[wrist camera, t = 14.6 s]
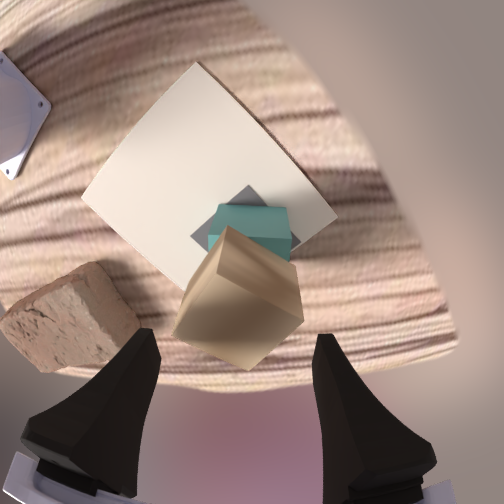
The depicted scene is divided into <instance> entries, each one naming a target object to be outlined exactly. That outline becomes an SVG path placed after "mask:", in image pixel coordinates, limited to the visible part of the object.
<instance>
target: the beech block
mask: <svg viewBox="0 0 504 504" xmlns="http://www.w3.org/2000/svg"><path fill="white" fill-rule="evenodd" d="M303 322H304V316H303V309H302V303H301V296H300V290H299V284H298V277H297V271H296V266H295V265H293V264H291V263H290V262H288V261H286V260H285V259H283V258H281V257H280V256H278V255H277V254H275V253H273V252H272V251H270V250H268V249H267V248H265V247H263V246H262V245H260V244H258V243H257V242H255V241H253V240H252V239H250V238H249V237H247V236H245V235H244V234H242V233H240V232H239V231H237V230H235V229H234V228H232V227H230V226H229V225H227V226H226V228H225V229H224V231H223V232H222V233H221V235H220V236H219V238H218V239H217V241H216V242H215V244H214V245H213V246H212V248H211V249H210V251H209V252H208V254H207V255H206V257H205V258H204V260H203V261H202V263H201V264H200V265H199V267H198V268H197V270H196V271H195V273H194V274H193V276H192V277H191V279H190V280H189V282H188V285H187V288H186V291H185V294H184V297H183V300H182V303H181V306H180V309H179V312H178V315H177V318H176V321H175V324H174V327H173V331H172V334H171V336H173V337H175V338H177V339H179V340H181V341H183V342H185V343H187V344H189V345H191V346H193V347H195V348H198V349H200V350H202V351H204V352H206V353H208V354H210V355H213V356H215V357H217V358H219V359H222V360H224V361H226V362H228V363H231V364H233V365H235V366H238V367H240V368H242V369H245V370H247V371H249V370H250V369H252V368H253V367H254V366H255V365H256V364H257V363H259V362H260V361H261V360H262V359H263V358H264V357H265V356H267V355H268V354H269V353H270V352H271V351H272V350H273V349H274V348H276V347H277V346H278V345H279V344H280V343H281V342H282V341H283V340H284V339H285V338H287V337H288V336H289V335H290V334H291V333H292V332H293V331H294V330H295V329H296V328H297V327H298V326H299V325H301V324H302V323H303Z"/></svg>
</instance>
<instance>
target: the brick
mask: <svg viewBox="0 0 504 504" xmlns="http://www.w3.org/2000/svg"><path fill="white" fill-rule="evenodd" d="M139 328H141V323H140V321H139V319H138V318H137V316H136V314H135V312H134V311H133V310H132V309H131V308H130V307H129V306H128V305H127V303H126V302H124V300H123V298H122V297H121V295H120V294H119V293H118V291H117V290H116V288H115V286H114V285H113V283H112V281H111V279H110V277H109V276H108V275H107V273H106V272H105V271H104V270H103V268H102V267H101V266H100V265H99V264H98V263H96V262H88V263H86V264H85V265H81V266H79V267H78V268H76V269H75V270H73V271H72V272H70V273H69V274H68V275H67V276H65V277H61V278H58V279H56V280H55V281H54V282H53V283H51V284H47V285H46V286H44V287H42V288H40V289H39V290H37V291H35V292H33V293H31V294H30V295H28V296H27V297H25V298H24V299H22V300H21V301H18V302H17V303H15V304H14V305H13V306H12V307H11V308H10V309H9V310H8V311H7V312H6V313H5V314H4V315H3V316H2V317H1V318H0V329H1V331H2V332H3V334H4V335H5V336H6V338H7V339H8V340H9V341H10V342H11V343H12V344H13V345H14V347H16V348H17V349H18V350H19V352H20V353H21V354H22V355H24V356H25V357H26V358H27V359H28V360H29V361H30V362H31V363H33V364H34V365H35V366H36V367H37V368H38V369H39V370H40V372H46V373H49V372H53V371H56V370H59V369H61V368H65V367H67V366H78V365H86V364H93V363H101V362H105V361H106V360H109V361H110V360H111V359H112V358H113V357H114V356H115V355H116V354H117V353H118V352H119V351H120V349H121V348H122V347H123V346H124V345H125V344H126V343H127V341H128V340H129V339H130V338H131V337H132V336H133V335H134V333H135V332H136V331H137V330H138V329H139Z"/></svg>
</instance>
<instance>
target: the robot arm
mask: <svg viewBox="0 0 504 504" xmlns="http://www.w3.org/2000/svg"><path fill="white" fill-rule="evenodd" d="M2 61H3V63H2ZM41 103H43V106H41ZM50 110H51V104H50V102H49V101H48V100H47V99H46V98H45V97H44V96H43V95H42V94H41V93H40V92H39V91H38V90H37V88H36V87H35V86H34V85H33V84H32V83H31V82H30V81H29V80H28V79H27V78H26V77H25V76H24V75H23V74H22V72H21V71H20V70H19V69H18V68H17V67H16V66H15V65H14V64H13V63H12V62H11V60H10V59H9V58H8V57H7V56H6V55H5V54H4V53H3V52H2V51H0V169H1V170H2V171H3V172H4V173H5V174H6V176H7V177H8V178H9V179H10V180H14V179H15V178H16V177H17V175H18V172H19V170H20V168H21V166H22V163H23V161H24V159H25V157H26V155H27V153H28V151H29V149H30V147H31V145H32V143H33V141H34V139H35V137H36V135H37V133H38V132H39V130H40V128H41V126H42V124H43V123H44V121H45V119H46V117H47V116H48V114H49V112H50ZM9 171H10V172H9ZM160 364H161V356H160V353H159V349H158V346H157V343H156V340H155V337H154V333H153V330H152V329H148V328H139V329H138V330H137V331H136V332H135V333H134V335H133V336H132V337H131V338H130V339H129V340H128V341H127V343H126V344H125V345H124V346H123V347H122V348H121V349H120V351H119V352H118V353H117V354H116V355H115V356H114V357H113V358H112V359H111V360H110V361H109V362H108V364H107V365H106V366H105V367H103V368H102V369H101V370H100V371H99V372H98V373H97V374H96V375H95V376H94V377H93V378H92V379H91V380H90V381H89V382H88V383H86V384H85V385H84V386H83V387H81V388H80V389H79V390H78V391H76V392H75V393H73V394H72V395H71V396H69V397H68V398H66V399H65V400H63V401H62V402H60V403H58V404H57V405H55V406H53V407H51V408H50V409H48V410H46V411H44V412H42V413H39V414H37V415H35V416H33V417H31V418H29V420H28V422H27V424H26V426H25V429H24V431H23V433H22V436H21V438H20V440H21V442H22V443H23V444H24V445H25V446H26V447H27V448H28V449H29V450H30V451H32V452H33V453H34V454H35V455H37V456H38V457H39V458H40V461H39V463H38V462H36V461H35V460H33V459H31V458H29V457H27V456H25V455H23V454H22V453H20V452H16V454H15V456H14V459H13V462H12V464H11V467H10V470H9V473H8V475H7V479H6V481H5V484H4V487H3V491H4V492H6V493H7V494H9V495H10V496H12V497H14V498H15V499H17V500H18V501H20V502H21V503H23V504H150V503H146V502H141V501H137V500H133V499H131V498H133V497H135V496H137V473H138V461H139V452H140V444H141V438H142V431H143V426H144V422H145V418H146V414H147V411H148V408H149V405H150V402H151V398H152V395H153V392H154V389H155V386H156V383H157V379H158V375H159V370H160ZM312 375H313V386H314V392H315V397H316V402H317V408H318V413H319V418H320V424H321V432H322V446H323V504H456V500H455V495H454V491H453V487H452V483H451V480H446V481H443V482H441V483H438V484H435V485H432V486H429V487H427V488H424V489H422V488H421V484H423V477H422V476H423V475H424V474H425V473H427V472H428V471H429V470H431V469H432V468H433V467H434V466H435V465H436V463H437V460H436V456H435V453H434V450H433V448H432V446H431V443H429V442H427V441H426V440H425V439H423V438H422V437H420V436H419V435H417V434H415V433H414V432H413V431H411V430H410V429H409V428H408V427H406V426H405V425H404V424H403V423H401V421H399V420H398V419H397V418H396V417H395V416H394V415H393V414H392V413H390V412H389V411H388V410H387V409H386V408H385V407H384V406H383V405H382V403H381V402H380V401H378V399H377V398H376V397H375V396H374V395H373V393H372V392H371V391H370V390H369V389H368V387H367V386H366V385H365V384H364V382H363V381H362V379H361V378H360V377H359V375H358V374H357V372H356V371H355V370H354V368H353V367H352V365H351V364H350V362H349V361H348V359H347V357H346V356H345V354H344V352H343V351H342V349H341V347H340V346H339V344H338V342H337V340H336V338H335V337H334V335H333V334H332V333H331V334H318V337H317V342H316V346H315V351H314V356H313V360H312Z"/></svg>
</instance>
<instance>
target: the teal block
mask: <svg viewBox="0 0 504 504" xmlns="http://www.w3.org/2000/svg"><path fill="white" fill-rule="evenodd" d="M227 225H229V226H230V227H232V228H234V229H235V230H237V231H239V232H240V233H242V234H244V235H245V236H247V237H249V238H250V239H252V240H253V241H255V242H257V243H258V244H260V245H262V246H263V247H265V248H267V249H268V250H270V251H272V252H273V253H275V254H277V255H278V256H280V257H281V258H283V259H285V260H286V261H288V262H289V260H290V252H291V244H292V236H291V230H290V225H289V220H288V215H287V209H286V207H269V206H250V205H227V204H219V205H218V208H217V211H216V213H215V216H214V219H213V222H212V225H211V228H210V230H209V233H208V249H209V251H210V249H211V248H212V246H213V245H214V244H215V242H216V241H217V239H218V238H219V236H220V235H221V233H222V232H223V231H224V229H225V228H226V226H227Z"/></svg>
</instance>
